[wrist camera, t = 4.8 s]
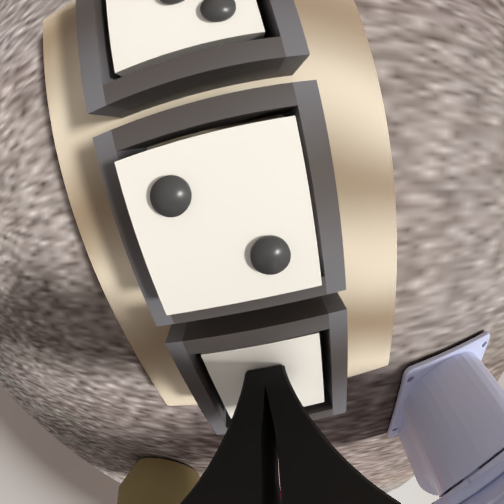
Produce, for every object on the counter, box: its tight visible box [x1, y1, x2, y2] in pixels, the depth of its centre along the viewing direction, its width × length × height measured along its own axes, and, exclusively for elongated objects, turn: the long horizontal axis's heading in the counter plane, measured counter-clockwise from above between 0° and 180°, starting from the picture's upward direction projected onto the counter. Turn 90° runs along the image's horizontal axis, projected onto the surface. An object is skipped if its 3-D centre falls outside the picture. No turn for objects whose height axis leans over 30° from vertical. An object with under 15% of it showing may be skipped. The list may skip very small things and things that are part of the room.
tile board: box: [43, 0, 397, 435], centre depth 9 cm, size 20×12×4 cm, turn 12°
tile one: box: [201, 331, 324, 418], centre depth 11 cm, size 4×4×2 cm
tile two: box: [114, 116, 322, 315], centre depth 7 cm, size 4×4×2 cm
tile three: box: [106, 0, 265, 77], centre depth 6 cm, size 4×4×2 cm
